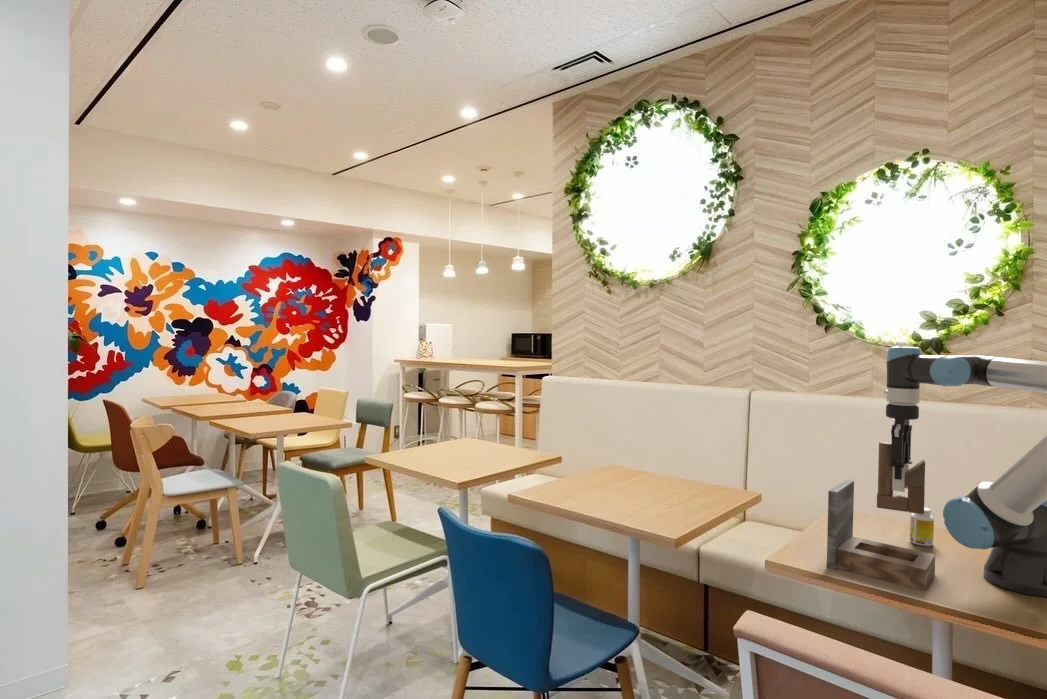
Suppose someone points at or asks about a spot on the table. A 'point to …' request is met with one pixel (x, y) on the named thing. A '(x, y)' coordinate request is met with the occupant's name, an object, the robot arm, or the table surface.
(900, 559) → the post block
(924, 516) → the supplement bottle
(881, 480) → the wooden block
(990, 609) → the table surface
